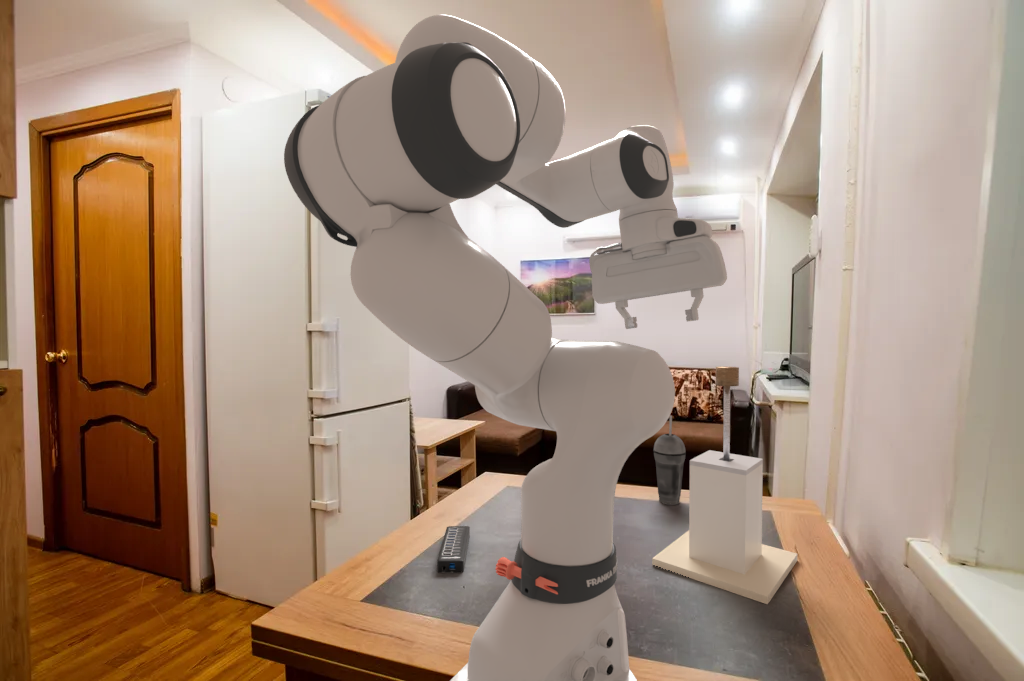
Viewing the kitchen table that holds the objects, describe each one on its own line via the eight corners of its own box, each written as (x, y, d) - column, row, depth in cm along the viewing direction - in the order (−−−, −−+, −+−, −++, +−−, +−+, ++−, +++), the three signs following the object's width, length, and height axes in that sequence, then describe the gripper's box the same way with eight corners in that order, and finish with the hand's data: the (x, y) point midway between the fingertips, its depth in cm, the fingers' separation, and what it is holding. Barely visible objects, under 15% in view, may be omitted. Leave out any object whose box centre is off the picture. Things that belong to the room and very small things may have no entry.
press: (767, 604, 73) (769, 483, 72) (652, 565, 85) (652, 461, 84) (797, 560, 86) (798, 458, 86) (694, 531, 98) (694, 441, 98)
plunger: (741, 484, 80) (742, 369, 79) (697, 475, 85) (698, 367, 84) (754, 474, 85) (755, 366, 85) (712, 466, 90) (713, 364, 89)
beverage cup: (681, 496, 118) (682, 412, 118) (689, 507, 111) (690, 418, 111) (650, 495, 119) (650, 411, 119) (656, 506, 112) (656, 417, 111)
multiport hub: (469, 537, 97) (469, 525, 97) (463, 574, 83) (463, 560, 83) (447, 537, 97) (447, 525, 97) (436, 574, 83) (436, 561, 83)
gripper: (580, 248, 80) (591, 333, 80) (715, 218, 70) (727, 316, 70) (595, 251, 86) (605, 331, 86) (722, 224, 75) (733, 315, 75)
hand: (661, 324), depth 78 cm, fingers open, 8 cm apart
